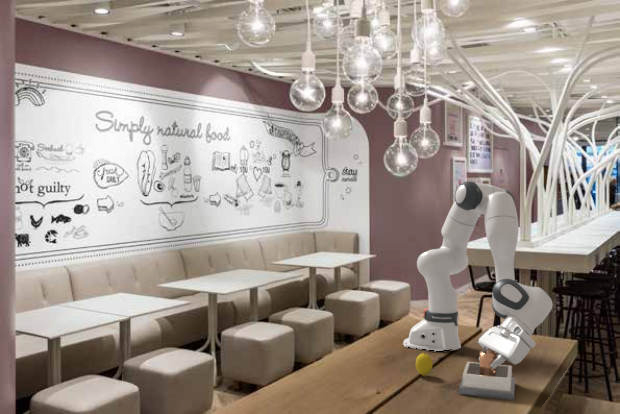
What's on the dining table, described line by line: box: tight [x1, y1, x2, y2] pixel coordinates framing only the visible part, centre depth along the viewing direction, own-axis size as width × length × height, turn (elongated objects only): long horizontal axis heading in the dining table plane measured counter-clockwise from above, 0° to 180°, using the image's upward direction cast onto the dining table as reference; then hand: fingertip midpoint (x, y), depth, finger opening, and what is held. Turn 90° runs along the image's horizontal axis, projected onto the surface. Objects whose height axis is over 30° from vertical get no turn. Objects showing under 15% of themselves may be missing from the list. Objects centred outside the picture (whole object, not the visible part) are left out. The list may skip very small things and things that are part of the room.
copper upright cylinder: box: [479, 346, 497, 376], centre depth 193 cm, size 5×5×10 cm
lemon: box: [415, 352, 433, 377], centre depth 206 cm, size 6×6×8 cm
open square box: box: [458, 361, 516, 401], centre depth 193 cm, size 16×16×6 cm
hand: (486, 364), depth 193 cm, fingers closed on copper upright cylinder, 5 cm apart
